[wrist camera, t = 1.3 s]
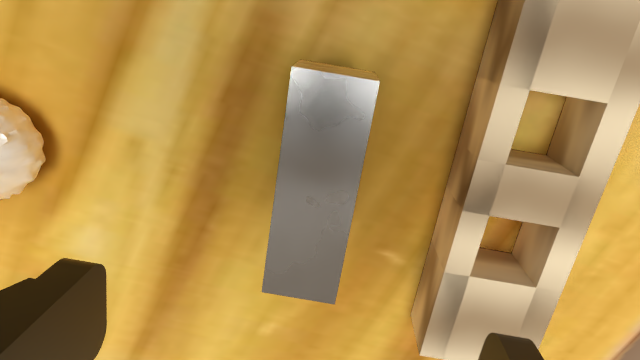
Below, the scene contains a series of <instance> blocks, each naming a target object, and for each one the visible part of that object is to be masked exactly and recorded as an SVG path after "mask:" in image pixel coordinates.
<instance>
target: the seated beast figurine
mask: <svg viewBox="0 0 640 360" xmlns="http://www.w3.org/2000/svg"><path fill="white" fill-rule="evenodd" d="M43 145H44V140H43V137H42V135H41V133H40V132H39V131H37V130H36V129H35V127H34V125H33V123H32V121H31V119H30V117H29V116H28V115H27V114H25V113H24V112H23V111H22V109H21V108H20V107H18V106H14V105H12V104H9V103H8V101H6V100H5V99H2V98H0V200H1V199H9V198H10V197H11V195H12V194H20V193H21V192H22V191H23V189H24V187H25V186H26V185H27V184H28V183H30V182H32V181H34V179H35V178H36V177H37V175H38V172H39V170H40V168H41V165H42V164H43V163H44V162H45V156H44V153H43V150H42V148H43Z"/></svg>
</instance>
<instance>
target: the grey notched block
mask: <svg viewBox="0 0 640 360" xmlns="http://www.w3.org/2000/svg"><path fill="white" fill-rule="evenodd" d="M379 84H380V80H379V79H378V77H377V75H376V73H375V72H371V71H366V70H360V69H354V68H348V67H342V66H336V65H330V64H324V63H318V62H312V61H307V60H299V61H298V62H297V63H295V64H294V65H293V66H292V67H291V75H290V82H289V90H288V98H287V105H286V113H285V120H284V128H283V135H282V143H281V150H280V158H279V165H278V173H277V180H276V188H275V196H274V203H273V211H272V218H271V226H270V233H269V241H268V248H267V256H266V263H265V271H264V279H263V286H262V292H265V293H271V294H276V295H282V296H288V297H294V298H300V299H306V300H312V301H318V302H323V303H329V304H335V301H336V296H337V291H338V286H339V281H340V276H341V271H342V266H343V261H344V256H345V251H346V246H347V241H348V237H349V232H350V227H351V222H352V217H353V212H354V207H355V202H356V197H357V192H358V187H359V182H360V177H361V173H362V168H363V163H364V158H365V153H366V148H367V143H368V138H369V133H370V128H371V123H372V118H373V113H374V109H375V104H376V99H377V94H378V89H379Z"/></svg>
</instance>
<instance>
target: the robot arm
mask: <svg viewBox="0 0 640 360" xmlns="http://www.w3.org/2000/svg"><path fill="white" fill-rule="evenodd" d="M106 325H107V319H106V270H105V267H104V266H103V265H102V264H97V263H91V262H85V261H79V260H73V259H68V258H63V259H60V260H59V261H57V262H56V263H55V264H54V265H52V266H51V267H50V268H49V269H47V270H46V271H45V272H44V273H42V274H41V275H40V276H39V277H38V278H36V279H33V278H28V279H26V280H23V281H21V282H19V283H16V284H14V285H12V286H10V287H7V288H5V289H3V290H0V360H94V359H95V357H96V356H97V354H98V352H99V350H100V348H101V346H102V343H103V340H104V337H105V333H106ZM478 360H544V359H543V357H542V356H541V354H540V352H539V351H538V349H537V347H536V345H535V344H534V343H533V341H532V340H530V339H528V338H522V337H516V336H510V335H504V334H499V333H493V332H492V333H490V334H488V336H487V337H486V339H485V341H484V344H483V347H482V350H481V353H480V355H479V358H478Z"/></svg>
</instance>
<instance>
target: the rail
mask: <svg viewBox="0 0 640 360" xmlns="http://www.w3.org/2000/svg"><path fill="white" fill-rule="evenodd" d="M530 90H531V91H537V92H543V93H549V94H555V95H561V96H567V98H566V101H565V104H564V107H563V110H562V112H561V115H560V118H559V121H558V124H557V127H556V129H555V132H554V135H553V138H552V141H551V143H550V146H549V149H548V152H547V155H542V154H536V153H530V152H524V151H518V150H512V149H511V147H512V144H513V140H514V137H515V134H516V131H517V128H518V125H519V122H520V119H521V116H522V113H523V109H524V106H525V103H526V100H527V97H528V94H529V91H530ZM639 104H640V0H498V2H497V6H496V9H495V13H494V17H493V20H492V24H491V27H490V31H489V35H488V38H487V42H486V45H485V49H484V53H483V56H482V60H481V63H480V67H479V71H478V74H477V78H476V81H475V85H474V89H473V92H472V96H471V99H470V103H469V107H468V110H467V114H466V118H465V121H464V125H463V128H462V132H461V136H460V139H459V143H458V146H457V150H456V154H455V157H454V161H453V164H452V168H451V172H450V175H449V179H448V182H447V186H446V190H445V193H444V197H443V200H442V204H441V208H440V211H439V215H438V218H437V222H436V226H435V229H434V233H433V236H432V240H431V244H430V247H429V251H428V254H427V258H426V262H425V265H424V269H423V272H422V276H421V280H420V283H419V287H418V290H417V294H416V298H415V301H414V305H413V308H412V312H411V319H412V323H413V328H414V332H415V337H416V342H417V346H418V351H419V355H421V356H427V357H433V358H438V359H444V360H478V358H479V355H480V353H481V350H482V347H483V344H484V341H485V339H486V337H487V336H488V334H490V333H492V332H493V333H499V334H504V335H510V336H516V337H522V338H528V339H530V340H532V341H533V343H534V344H535V345H536V347H537V349H539V346H540V344H541V341H542V339H543V337H544V334H545V332H546V329H547V327H548V325H549V322H550V320H551V317H552V315H553V312H554V310H555V308H556V305H557V303H558V300H559V298H560V295H561V293H562V291H563V288H564V286H565V283H566V281H567V278H568V276H569V274H570V271H571V269H572V266H573V264H574V262H575V259H576V257H577V254H578V252H579V249H580V247H581V245H582V242H583V240H584V237H585V235H586V232H587V230H588V228H589V225H590V223H591V220H592V218H593V215H594V213H595V211H596V208H597V206H598V203H599V201H600V199H601V196H602V194H603V191H604V189H605V186H606V184H607V182H608V179H609V177H610V174H611V172H612V169H613V167H614V165H615V162H616V160H617V157H618V155H619V152H620V150H621V148H622V145H623V143H624V140H625V138H626V136H627V133H628V131H629V128H630V126H631V123H632V121H633V119H634V116H635V114H636V111H637V109H638V106H639ZM489 216H494V217H500V218H506V219H511V220H517V221H523V223H522V226H521V228H520V231H519V234H518V237H517V240H516V243H515V245H514V248H513V251H512V253H506V252H501V251H495V250H489V249H483V248H479V246H480V243H481V240H482V237H483V234H484V231H485V227H486V224H487V221H488V218H489Z"/></svg>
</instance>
